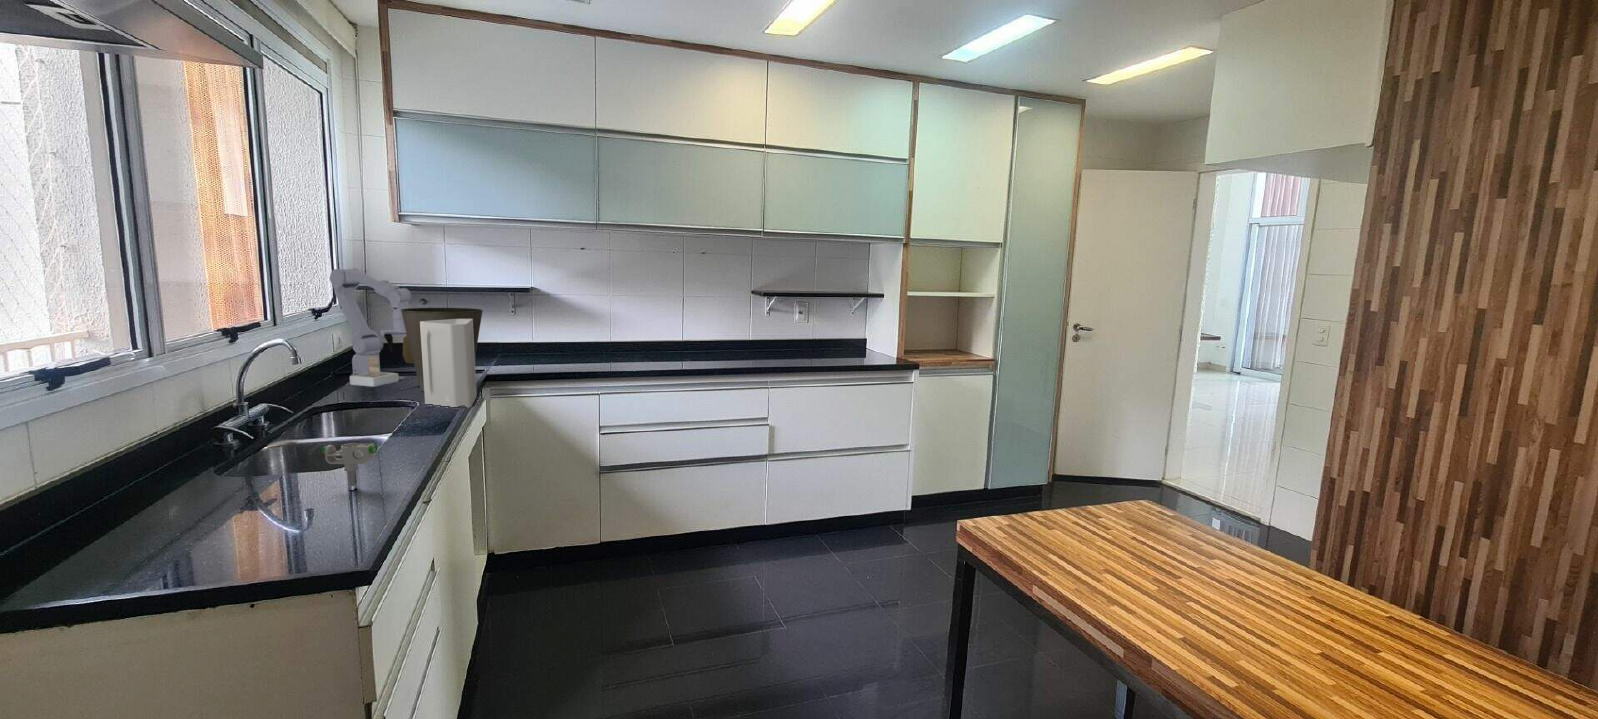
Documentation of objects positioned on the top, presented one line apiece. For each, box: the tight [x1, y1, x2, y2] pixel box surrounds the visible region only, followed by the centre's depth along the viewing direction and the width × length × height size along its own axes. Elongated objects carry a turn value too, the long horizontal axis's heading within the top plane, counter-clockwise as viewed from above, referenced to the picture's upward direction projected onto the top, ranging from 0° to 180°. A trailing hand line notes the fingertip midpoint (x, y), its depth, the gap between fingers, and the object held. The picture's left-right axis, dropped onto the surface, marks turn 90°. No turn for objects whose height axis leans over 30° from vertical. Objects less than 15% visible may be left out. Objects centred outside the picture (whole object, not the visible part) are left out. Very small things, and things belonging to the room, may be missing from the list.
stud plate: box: [398, 375, 409, 380], centre depth 259 cm, size 8×8×3 cm
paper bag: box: [420, 319, 477, 409], centre depth 222 cm, size 19×15×28 cm
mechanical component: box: [322, 442, 378, 486], centre depth 141 cm, size 3×10×10 cm, turn 95°
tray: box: [349, 371, 400, 388], centre depth 248 cm, size 11×11×4 cm
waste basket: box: [401, 307, 484, 392], centre depth 243 cm, size 27×20×30 cm
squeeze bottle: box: [402, 332, 414, 365], centre depth 297 cm, size 8×8×18 cm
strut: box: [367, 356, 381, 378], centre depth 248 cm, size 4×4×10 cm
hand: (403, 352), depth 263 cm, fingers open, 7 cm apart
